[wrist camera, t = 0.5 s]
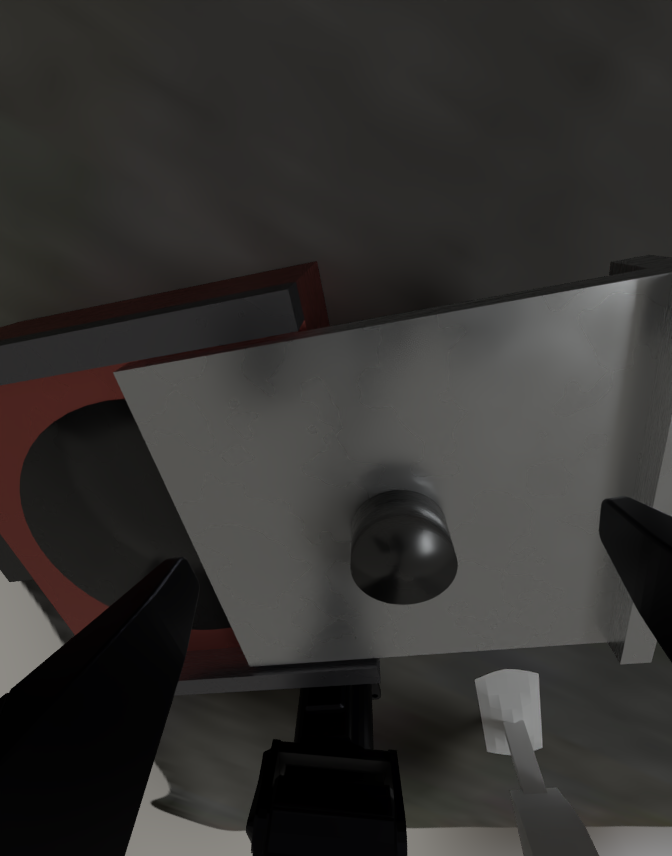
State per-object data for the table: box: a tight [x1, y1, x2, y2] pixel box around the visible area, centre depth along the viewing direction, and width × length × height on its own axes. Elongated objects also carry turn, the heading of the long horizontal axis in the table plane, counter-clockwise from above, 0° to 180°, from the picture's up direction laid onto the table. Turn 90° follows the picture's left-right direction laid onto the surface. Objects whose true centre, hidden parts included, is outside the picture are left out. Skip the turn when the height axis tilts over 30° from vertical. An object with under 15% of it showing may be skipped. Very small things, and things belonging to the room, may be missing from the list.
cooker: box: [0, 261, 380, 696], centre depth 20 cm, size 19×18×9 cm
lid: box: [113, 255, 672, 667], centre depth 16 cm, size 16×18×5 cm
